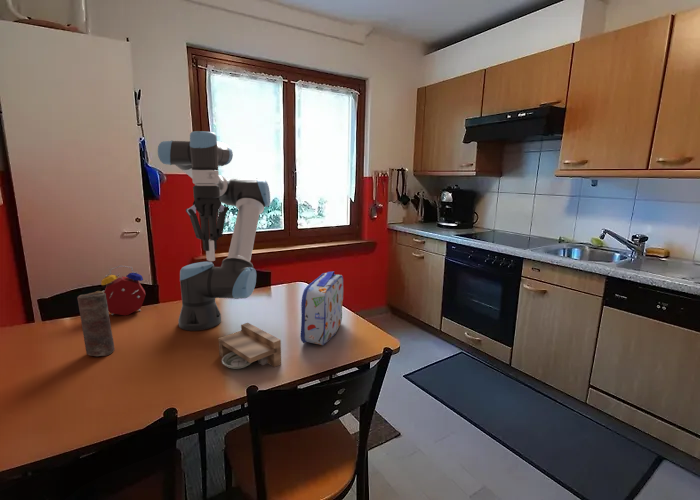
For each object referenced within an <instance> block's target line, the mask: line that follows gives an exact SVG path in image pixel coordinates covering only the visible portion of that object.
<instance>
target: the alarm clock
mask: <svg viewBox="0 0 700 500" xmlns="http://www.w3.org/2000/svg"><path fill="white" fill-rule="evenodd" d="M121 267H123V268H129V269H130V270H131V272H130V273H128V274H126V276H121V273H118V274H116V275H115V274H112V270H115V269H118V268H121ZM143 280H144V278H143V275H141V274H140V273H138V271H134V269H133V266H127V265H118V266H116V267H112V268H109V274H105V277H104V278H103V279H101V281H100V285H101V286H105V288H104V291H103V292H104V293H105V294H106V299H107V305H108V312H109V314H110V315H112V316H113V315H121V316H126V315H127V316H129V315H131V314H132V313H134V312H136V311H139V312H142V310H141V309H142V307H143V305H144V304H143V303H144V301H145V298H146V290H145V289H144V287H143V285H141V283H140V282H141V281H143Z"/></svg>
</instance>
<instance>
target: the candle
mask: <svg viewBox="0 0 700 500" xmlns="http://www.w3.org/2000/svg"><path fill="white" fill-rule="evenodd" d="M77 303H78V304H77V305H78V310H79V316H80V320H81V327H82V334H83V341H84V346H85V353H86V355H88V356H91V357H92V356H94V357H106V356H109V355H111V354H112V353H113V352H114V351H115V343H114V337H113V331H112V325H111V320H110V312H109V311H108V305H107V299H106V294H105V293H104V291H102V290H97V291H94V292H89V293H84V294H80V295H78V296H77Z"/></svg>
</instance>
